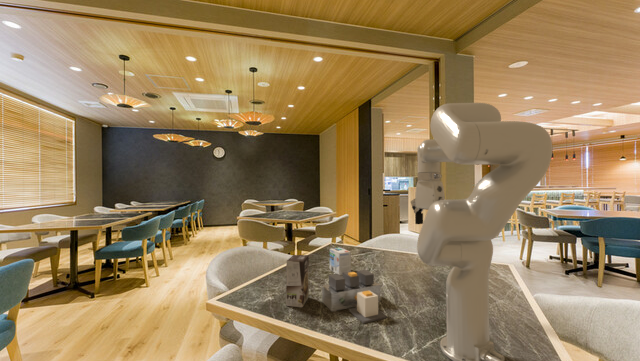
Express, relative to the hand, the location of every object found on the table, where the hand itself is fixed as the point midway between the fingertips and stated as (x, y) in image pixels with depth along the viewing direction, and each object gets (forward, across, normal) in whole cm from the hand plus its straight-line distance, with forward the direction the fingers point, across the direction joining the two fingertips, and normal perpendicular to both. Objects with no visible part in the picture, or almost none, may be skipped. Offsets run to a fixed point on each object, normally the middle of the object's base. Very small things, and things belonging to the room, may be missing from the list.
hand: (429, 225), depth 95 cm
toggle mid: (+22, +15, +24) cm, 36 cm away
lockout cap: (+28, +4, +24) cm, 37 cm away
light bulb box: (+29, +46, +12) cm, 55 cm away
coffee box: (+28, +22, +42) cm, 55 cm away
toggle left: (+22, +14, +30) cm, 40 cm away
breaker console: (+28, +14, +24) cm, 40 cm away
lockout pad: (+28, +4, +24) cm, 37 cm away
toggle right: (+22, +14, +18) cm, 32 cm away
